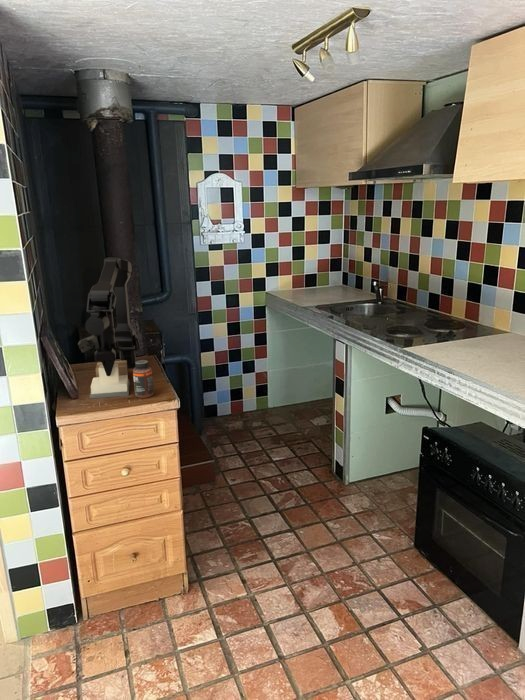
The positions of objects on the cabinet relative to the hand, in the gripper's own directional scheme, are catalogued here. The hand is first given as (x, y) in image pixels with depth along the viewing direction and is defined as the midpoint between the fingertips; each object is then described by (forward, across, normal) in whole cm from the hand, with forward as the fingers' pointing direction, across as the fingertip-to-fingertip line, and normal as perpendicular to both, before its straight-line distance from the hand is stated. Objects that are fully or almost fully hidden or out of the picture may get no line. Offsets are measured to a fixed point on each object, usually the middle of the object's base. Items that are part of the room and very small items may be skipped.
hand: (109, 373), depth 177 cm
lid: (+5, 0, 0) cm, 5 cm away
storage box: (+6, -12, 0) cm, 13 cm away
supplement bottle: (+6, +8, +11) cm, 15 cm away
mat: (+6, 0, 0) cm, 6 cm away
